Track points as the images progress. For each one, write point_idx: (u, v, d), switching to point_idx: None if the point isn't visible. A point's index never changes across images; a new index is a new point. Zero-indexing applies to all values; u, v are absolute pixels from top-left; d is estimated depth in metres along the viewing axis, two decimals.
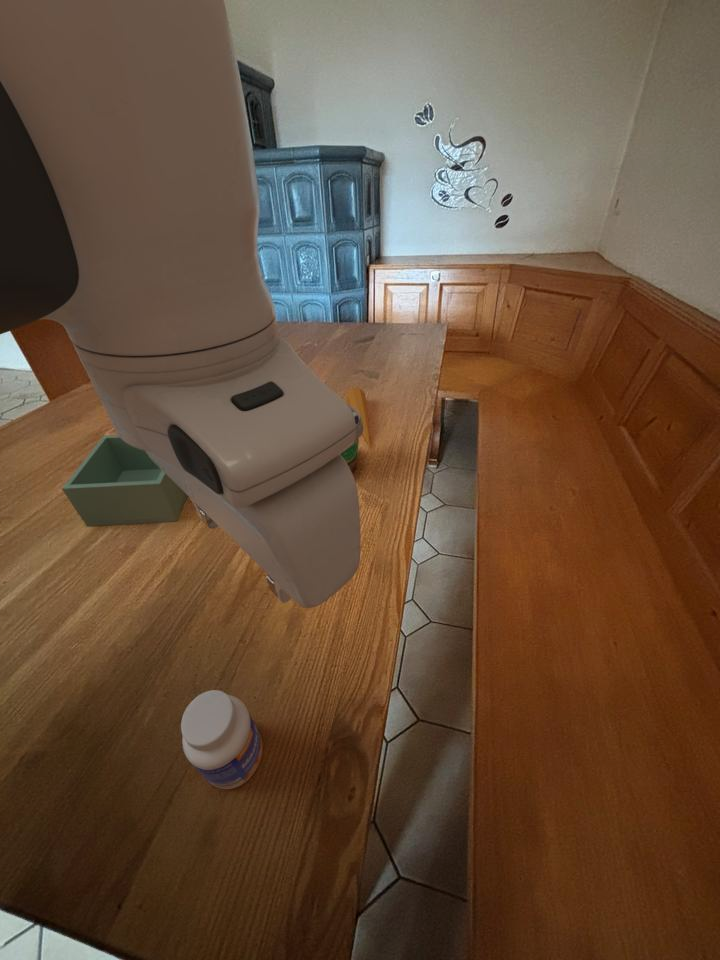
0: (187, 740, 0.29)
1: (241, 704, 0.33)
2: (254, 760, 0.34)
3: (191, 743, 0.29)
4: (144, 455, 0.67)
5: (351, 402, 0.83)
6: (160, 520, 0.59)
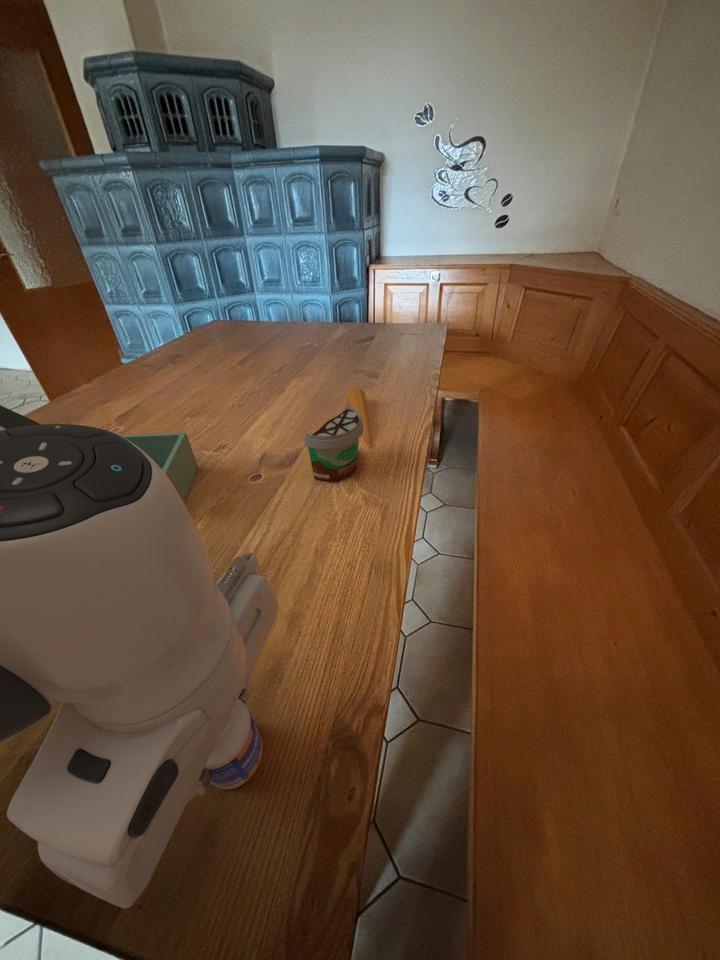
0: None
1: (241, 704, 0.33)
2: (255, 761, 0.34)
3: None
4: None
5: (351, 402, 0.83)
6: None
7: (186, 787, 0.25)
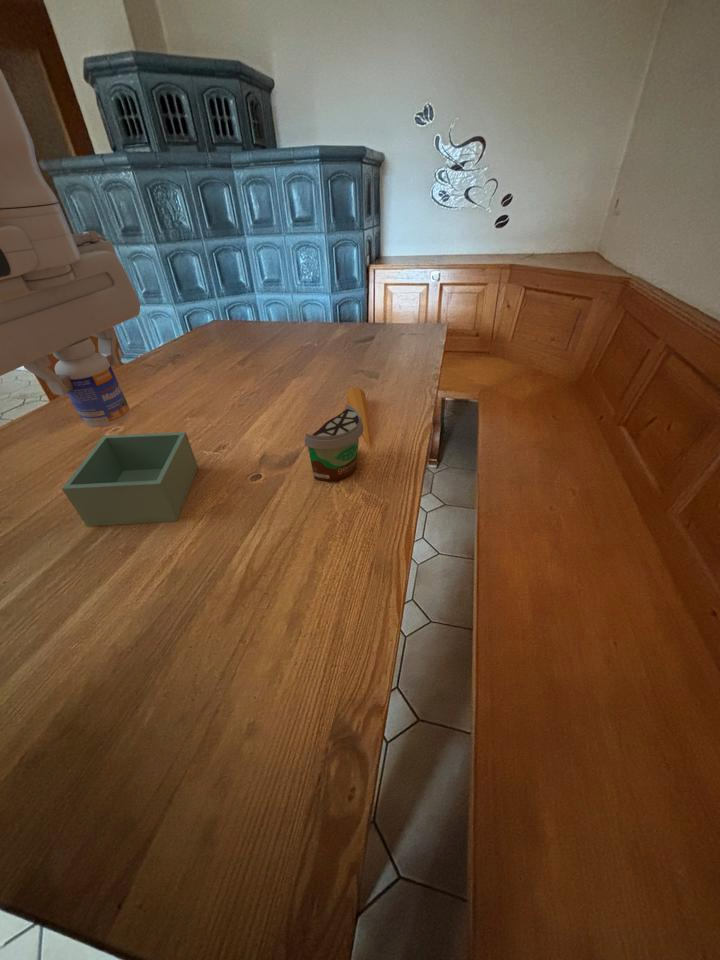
0: None
1: None
2: (117, 407, 0.46)
3: None
4: (144, 455, 0.67)
5: (351, 402, 0.83)
6: (160, 520, 0.59)
7: (36, 339, 0.37)
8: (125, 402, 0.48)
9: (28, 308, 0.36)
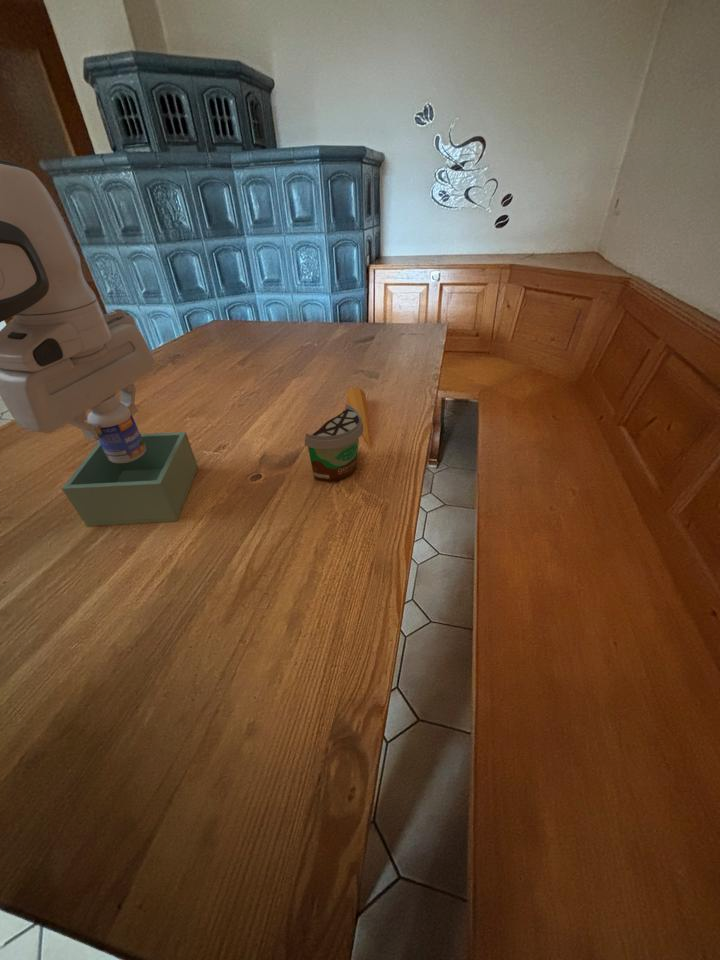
0: None
1: (125, 406, 0.56)
2: (136, 447, 0.57)
3: None
4: (144, 455, 0.67)
5: (351, 402, 0.83)
6: (160, 520, 0.59)
7: (77, 401, 0.48)
8: (142, 442, 0.58)
9: (72, 378, 0.47)
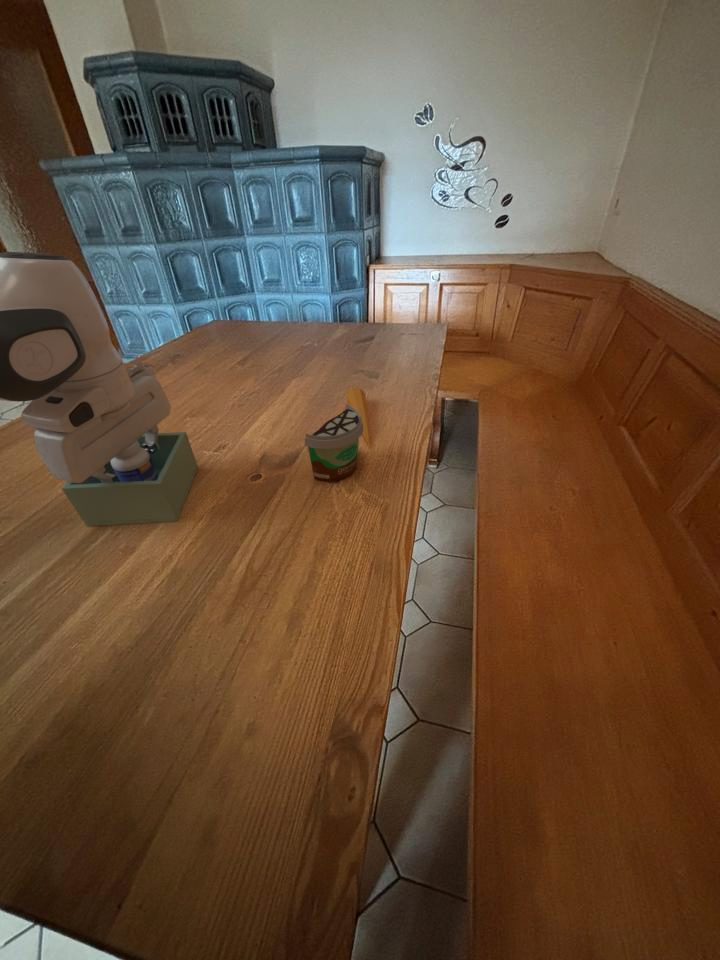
0: None
1: None
2: None
3: None
4: None
5: (351, 402, 0.83)
6: (160, 520, 0.59)
7: (104, 452, 0.53)
8: None
9: (100, 432, 0.52)
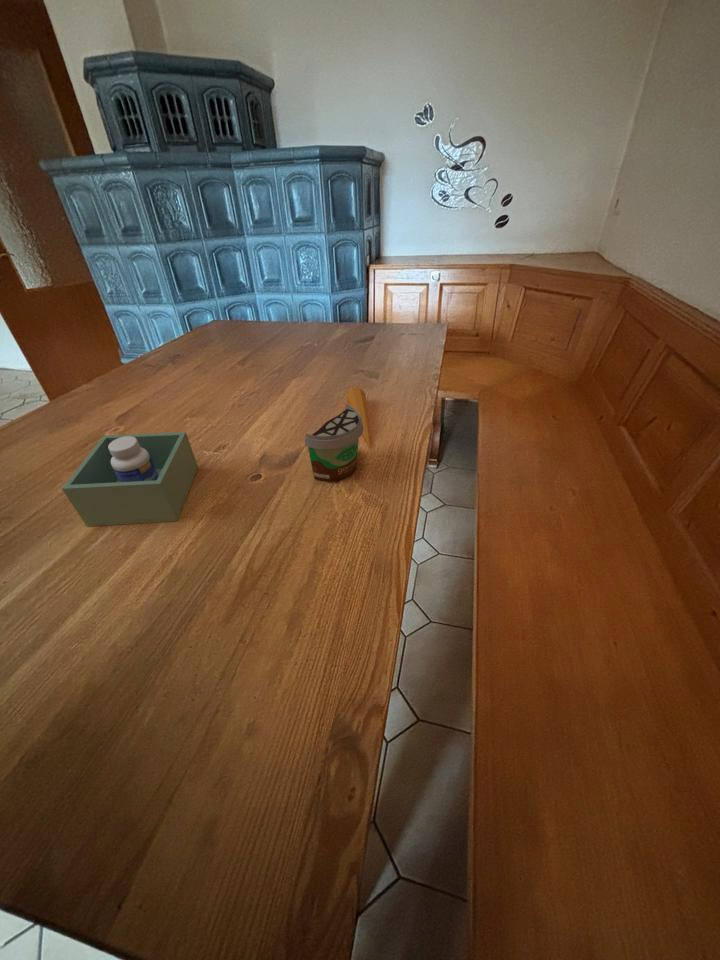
0: (110, 449, 0.57)
1: None
2: None
3: (112, 450, 0.56)
4: None
5: (351, 402, 0.83)
6: (160, 520, 0.59)
7: None
8: None
9: None
